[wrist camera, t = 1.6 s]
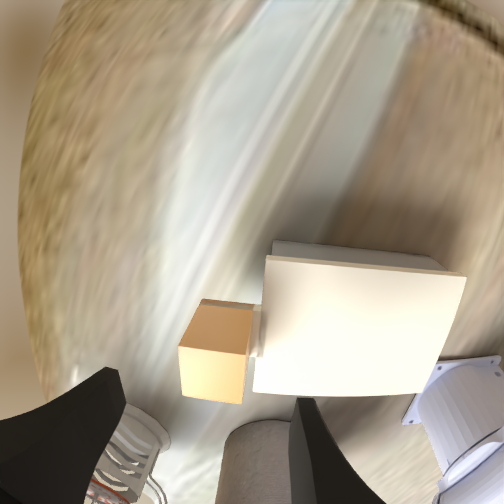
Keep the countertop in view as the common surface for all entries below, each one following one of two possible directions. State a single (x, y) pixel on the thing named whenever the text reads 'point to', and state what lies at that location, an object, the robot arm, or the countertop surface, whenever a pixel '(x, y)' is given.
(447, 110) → the countertop surface
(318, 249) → the tub
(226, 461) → the pillar candle
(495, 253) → the countertop surface
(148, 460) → the french press
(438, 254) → the countertop surface
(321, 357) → the lid
